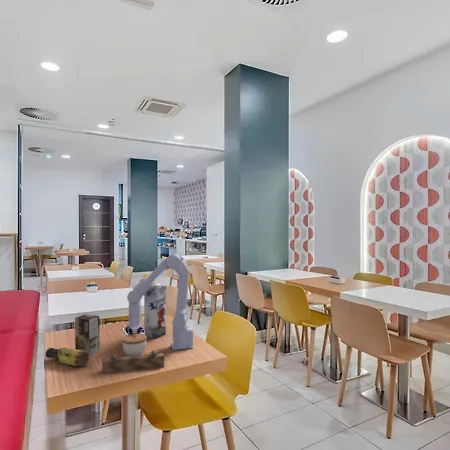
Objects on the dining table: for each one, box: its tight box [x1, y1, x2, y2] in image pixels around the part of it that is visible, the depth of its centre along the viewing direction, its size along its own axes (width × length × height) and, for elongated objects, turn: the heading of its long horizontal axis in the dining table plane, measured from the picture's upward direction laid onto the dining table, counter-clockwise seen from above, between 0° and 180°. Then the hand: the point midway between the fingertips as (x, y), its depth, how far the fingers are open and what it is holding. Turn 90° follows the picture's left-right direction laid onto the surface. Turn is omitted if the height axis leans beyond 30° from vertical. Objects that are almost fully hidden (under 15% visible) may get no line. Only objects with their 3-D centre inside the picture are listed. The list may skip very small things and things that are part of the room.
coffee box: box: [74, 313, 101, 356], centre depth 154 cm, size 9×6×16 cm
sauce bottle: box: [44, 347, 90, 368], centre depth 141 cm, size 6×6×20 cm
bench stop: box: [101, 350, 165, 374], centre depth 136 cm, size 24×3×6 cm, turn 104°
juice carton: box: [143, 283, 167, 339], centre depth 176 cm, size 9×10×27 cm
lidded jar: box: [121, 333, 148, 356], centre depth 150 cm, size 11×11×9 cm
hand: (135, 343), depth 160 cm, fingers closed
